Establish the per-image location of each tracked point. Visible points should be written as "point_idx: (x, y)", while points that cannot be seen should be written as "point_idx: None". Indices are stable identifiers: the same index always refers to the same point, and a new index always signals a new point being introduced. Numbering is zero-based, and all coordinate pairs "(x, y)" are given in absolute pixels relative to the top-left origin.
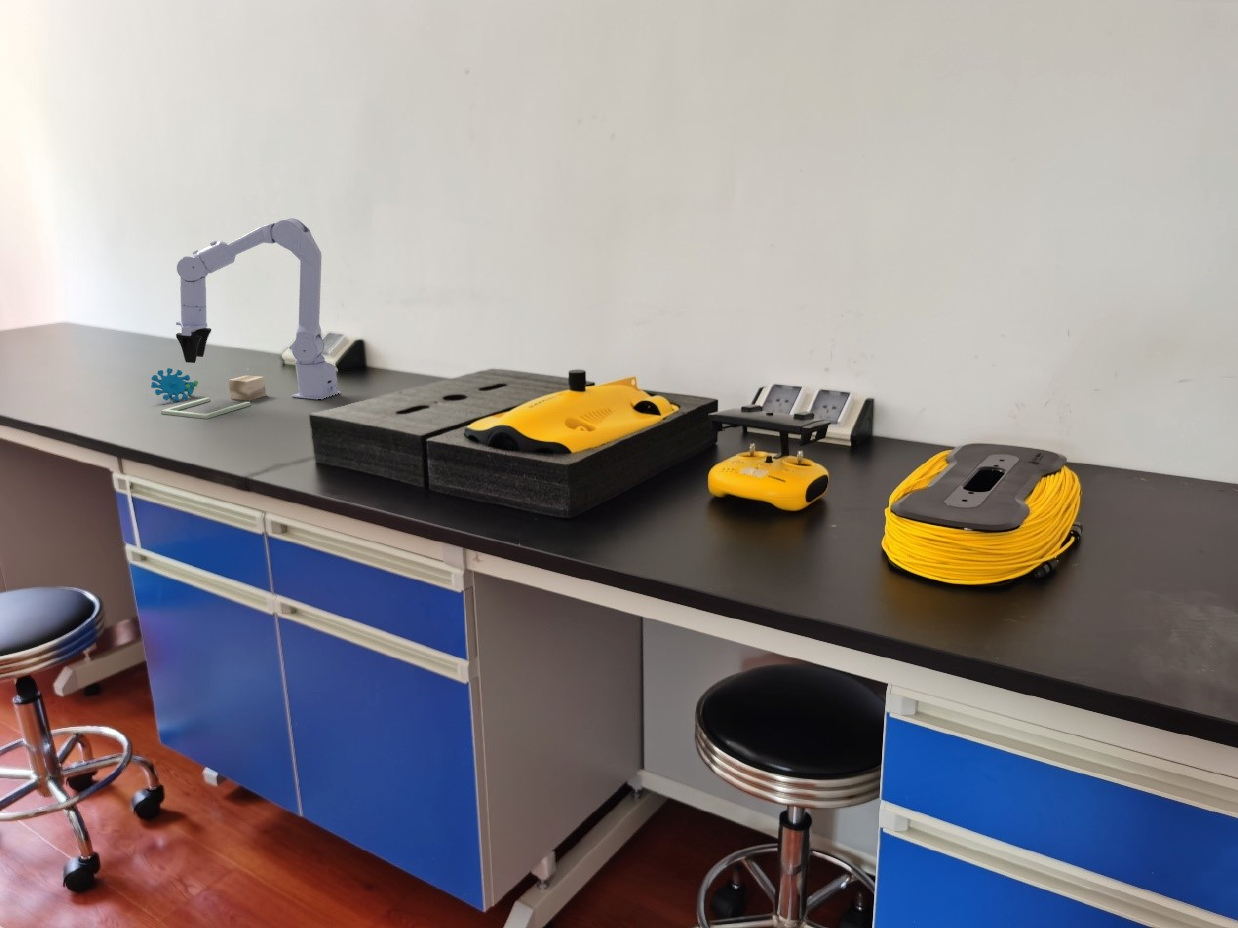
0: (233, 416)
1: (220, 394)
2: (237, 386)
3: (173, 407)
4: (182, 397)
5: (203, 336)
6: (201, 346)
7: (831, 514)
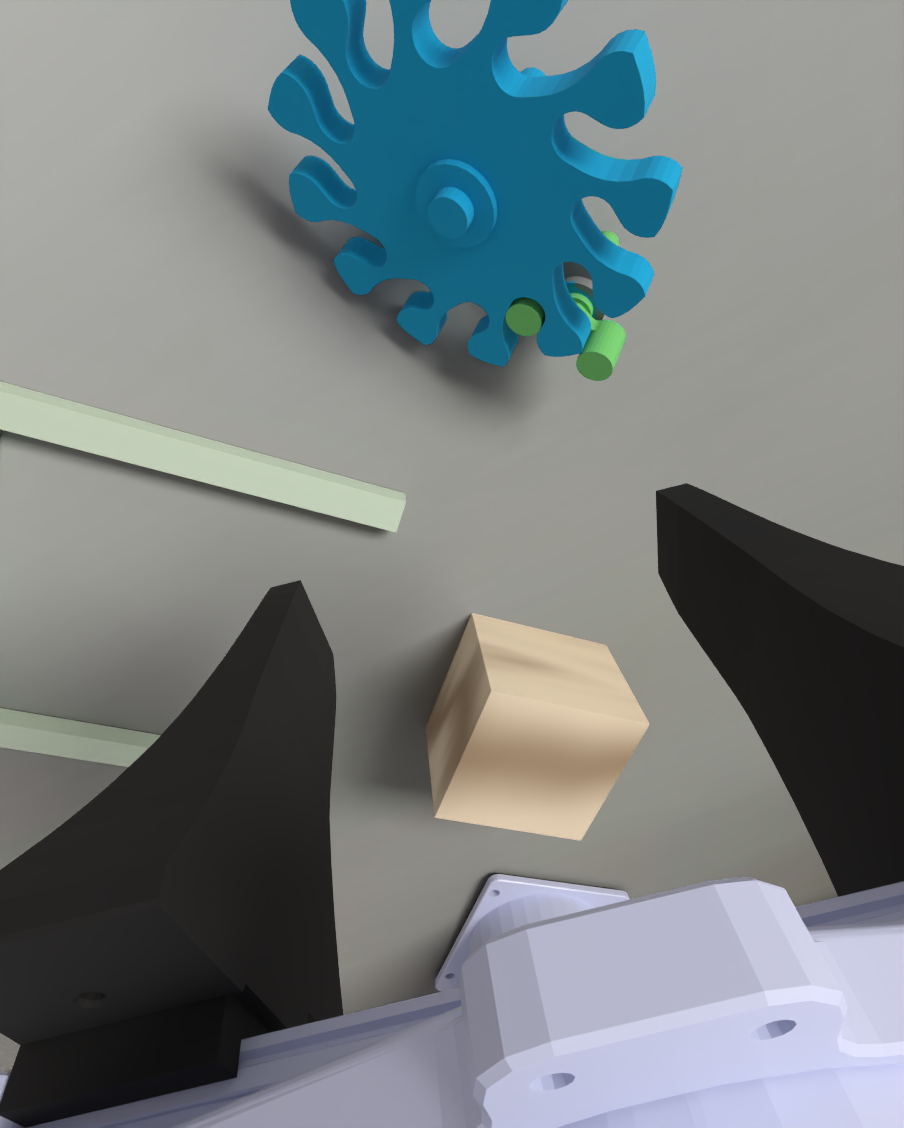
0: (59, 813)
1: (597, 490)
2: (460, 721)
3: (64, 424)
4: (403, 306)
5: (810, 798)
6: (723, 652)
7: None
